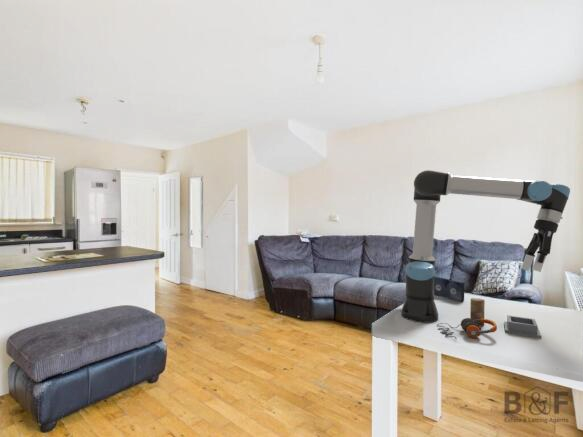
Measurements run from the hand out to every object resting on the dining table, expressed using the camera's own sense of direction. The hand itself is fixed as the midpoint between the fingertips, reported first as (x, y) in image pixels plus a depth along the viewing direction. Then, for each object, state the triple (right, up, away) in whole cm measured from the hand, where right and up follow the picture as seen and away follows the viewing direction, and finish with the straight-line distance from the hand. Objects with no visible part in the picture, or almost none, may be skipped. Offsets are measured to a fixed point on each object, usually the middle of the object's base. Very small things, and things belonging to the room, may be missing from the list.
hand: (530, 270), depth 133 cm
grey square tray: (-9, -22, -7) cm, 25 cm away
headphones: (-32, -23, -10) cm, 41 cm away
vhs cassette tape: (-15, -21, +40) cm, 48 cm away
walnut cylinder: (-22, -22, 0) cm, 31 cm away
